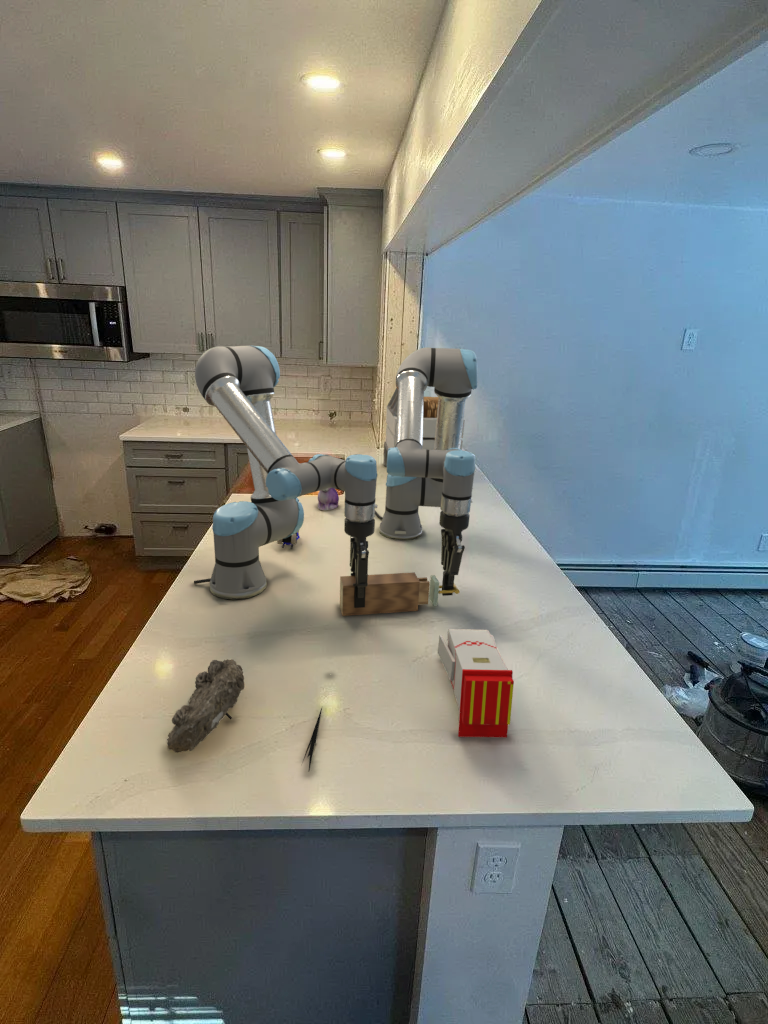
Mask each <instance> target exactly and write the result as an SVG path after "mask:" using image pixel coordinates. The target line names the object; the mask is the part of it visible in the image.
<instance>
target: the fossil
mask: <svg viewBox="0 0 768 1024" xmlns="http://www.w3.org/2000/svg"><path fill="white" fill-rule="evenodd" d="M243 670H244V669H243V667H242V665H240V664H237V662H236V661H235V660H234V659H232V658H231V659H227V658H226V659H224V660H223V661H222V660H217V659H212V660H211V661H210V663H209V665H208V666H207V671H201V672H199V673H198V674H197V675H196V676H195V680H194V684H195V685H194V687H195V689H194V690H193V693H192V694H191V697H190V698H189V700H188V704H184V705H182V706H181V707H180V709H177V710H176V711H175V713H174V715H173V716H172V718H171V723H172V724H173V727H172V730H171V731H170V732H168V734H167V738H166V741H167V742H166V745H167V749H168V750H169V751H173V752H174V753H176V754H178V753H182V752H188V751H189V752H192V751H193V750H195V748H196V747H197V746H199V744H200V743H201V742H203V741H204V740H205V739H206V738H207V737H208V736H209V735H210V734H211V733H212V732H214V730H215V729H217V727H218V726H219V724H220V722H221V721H222V720H223V719H224V718H225V716H226V717H227V719H229V720H233V717H232V715H230V714H229V710H230V709H231V708H234V706H235V704H236V703H237V702H238V699H239V697H240V695H241V693H242V691H243V690H245V689H244V688H245V675H244V671H243Z"/></svg>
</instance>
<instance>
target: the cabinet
mask: <svg viewBox="0 0 768 1024" xmlns="http://www.w3.org/2000/svg"><path fill="white" fill-rule="evenodd" d="M418 578H419V577H418V576H417V574H416V573H415V572H396V573H380V574H368V580H367V583H368V585H367V587H366V589H365V607H361V608H354V588H355V586H353V583H356V576H351V575H342V576H341V575H340V576H339V608H340V612H341V616H342V617H347V616H348V617H349V616H363V615H364V616H365V615H377V614H378V615H379V614H392V613H393V614H394V613H406V612H418V611H419V605H418V601H419V587H420V581H419V579H418Z"/></svg>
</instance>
